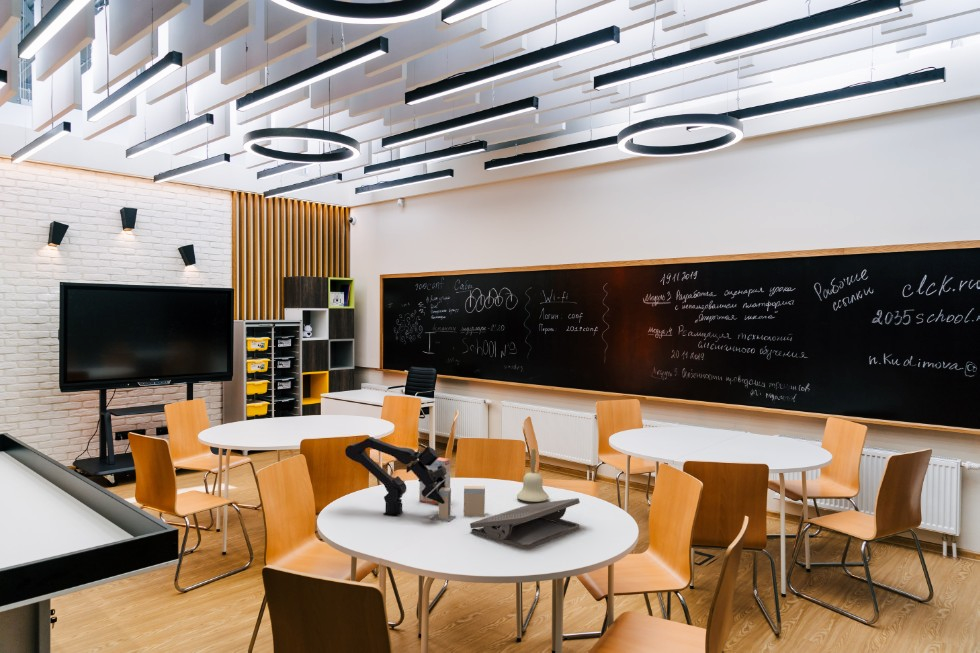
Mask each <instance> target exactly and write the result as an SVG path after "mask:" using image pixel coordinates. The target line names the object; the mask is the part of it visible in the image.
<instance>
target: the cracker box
mask: <svg viewBox="0 0 980 653" xmlns="http://www.w3.org/2000/svg"><path fill="white" fill-rule="evenodd" d="M451 460H452V459H451V458H446V457H441V456H439V458H438V459H437V460H436V461H435V462H434V463H433V464H432V465H431V466H426V467H427V469H429V470H430V469H431V470H432V471H435V470H438V466H440V465H442V466H443V467H445V468H446V472H447V474H445V477H446V478H445V479H444V480H446V482H445V486H446V488H451ZM444 480H443V481H444ZM425 487H426V486H425V485H424V484H423V483H422V482H419V498H418V499H419V502H421V501H422V503H426V502H427V503H426V504H431V503H432V505H436V504H437V506H439V502H437V501H435V500H432V499H430V498H426V497H427V496H428V495H427V496H426V497H425V498H424V496H423V495H422V490H423V489H424V488H425ZM438 493H439V492H438Z"/></svg>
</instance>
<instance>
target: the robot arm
mask: <svg viewBox="0 0 980 653" xmlns="http://www.w3.org/2000/svg"><path fill="white" fill-rule="evenodd" d="M368 448H370V449H373V450H375V451H378V452H381V453H383V454H387V455H388V456H391V457H393V458H394V459H395V460H397V461H398V462H399V463H401V464H403V465H406V472H405V473H409V472H412V473H413V475H415V476H416V477H417V478H418V482H419V483H420V482H422V483H423V484H424V485H425V486H426V487H425V488H424V489H423V490H422V495H423V496H424V498H425V497H426V496H427V495H428V496H427V497H426V498H430V499H432V500H435V501H437V502H439V503H442V504H444V503H445V502H444V500H443V498H442V497H441V496H440V494H439V493H438V492H439V490H440V489H441V488H442V487H443V488H446V486H445V482H446V480H444V479H445V478H446V477H445V474H447V472H446V468H445V467H443V466H442V465H440V466H438V470H435V471H432V470H431V469H430V470H429V469H427V467H426V466H431V465H432V464H433V463H434V462H435V461H436V460H437V459H438V458H439V457H440V454H439V452H438V451H437V450H435V449H434V448H432V447H430V446H429V445H427V447H425V449H424V450H423V451H422V452H420V451H415V450H414V449H413V448H409V447H402V446H401V447H400V446H396V445H393V444H390V443H388V442H385V441H383V440H379V439H377V438H375V437H373V436H369V437H367V438H366V439H364V440H362V441H360V442H354V443H351V444H350V445H347V446H346V447H345V450H344V454H345V456H346V457H347V458H348V459H350V460H351V461H353V462H356V463H358V464H360V465H361V466H362V467H364V468H365V469H366V470H367V471H368V472H369V473H371V475H372V476H374V477H375V479H377V480H378V481H379V482H380V483H382V484H383V486H384V488H385V490H386V492H387V493H386V494H385V496H383V499H384V502H385V508H384V510H385V512H383V515H384V516H390V517H391V516H393V517H397V516H399V515H401V514H403V513H404V511H403V502H402V500H403V499H402V498H403V496H404V494H405V493H406V492H407V484H406V483H405V480H402V479H401V478H400V476H398V475H397V476H396V477H393V476H392V475H390V474H389V472H387V471H386V470H385V469H383V468H382V467H381V466H380V465H379V464H378V463H377V462H376V461H375V460H374V459H373V458H371V457H370V455H368V452H367V451H366V449H368ZM443 480H444V481H443Z"/></svg>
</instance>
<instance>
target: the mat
mask: <svg viewBox="0 0 980 653" xmlns="http://www.w3.org/2000/svg"><path fill="white" fill-rule="evenodd" d="M455 518H457V516H456V515H450V517H449V518H448V519H444V518H439V513H436V514H434V515H433V516H431V517H430V518H429V520H433V519H436V520H435V521H440V520H441V521H443V522H449V523H450V522H451V521H452V520H454V519H455Z"/></svg>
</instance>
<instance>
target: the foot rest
mask: <svg viewBox="0 0 980 653" xmlns="http://www.w3.org/2000/svg"><path fill="white" fill-rule="evenodd" d="M579 504H580V498H578V497H577V498H571V499H569V498H568V499H560V500H556V501H555V500H552V501H545V502H539V503H531V504H527V505H523V506H520V507H517V508H513V509H510V510H508V511H505V512H501V513H498V514H495V515H492V516H489V517H485V518H482V519H479V520H476V521H472V522H470V523H469V527H470V529H471V530H470V532H471V534H474V535H477V536H481V537H484V538H487V539H491V540H493V541H496V542H499V543H501V544H505V545H508V546H511V547H514V548H517V549H520V550H525V551H526V550H533V549H534V548H537V547H540V546H542V545H544V544H547V543H549V542H550V543H551V541H554V540H557V539H559V538H562V537H564V536H566V535H569V534H571V533H574V532H576V531H579V530H580V529H581V527H580V524H579V523H577V522H573V521H570V520H566V519H563V517H564V516H565V514H566V511H567V509H568V508H570V507H573V506H575V505H576V506H577V505H579ZM538 518H540V519H544V520H547V521H551V522H555V523H558V524H561V525H565V526H568V528H567V529H564V530H561V531H559V532H557V533H553V534H551V535H548V536H546V537H544V538H541V539H538V540H535V541H533V542H531V543H529V544H528V543H526V544H525V543H520V542H518V541H514V540H511V539H508V538H509V536H510V535H511V533H512V530H513V527H516V526H518V525H521V524H523V523H526V522H530V521H532V520H535V519H538ZM569 526H570V527H569ZM479 528H483V530H484V531H483V530H480V529H479Z"/></svg>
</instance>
